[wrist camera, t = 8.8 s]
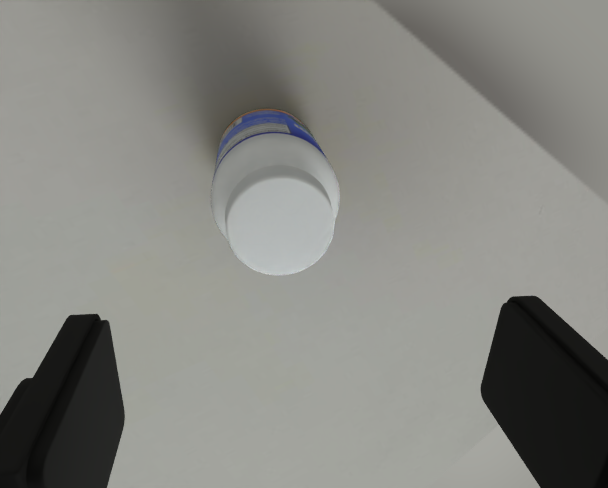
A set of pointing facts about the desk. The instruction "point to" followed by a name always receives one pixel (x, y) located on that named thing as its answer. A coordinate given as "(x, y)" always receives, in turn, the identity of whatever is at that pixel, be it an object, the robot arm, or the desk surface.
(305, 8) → the desk surface
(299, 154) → the pill bottle
